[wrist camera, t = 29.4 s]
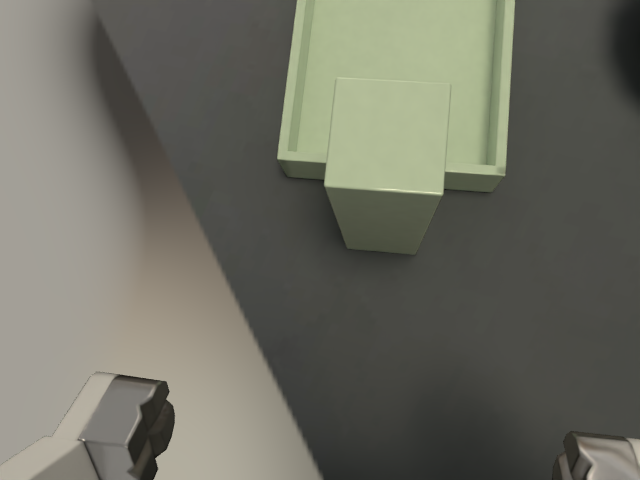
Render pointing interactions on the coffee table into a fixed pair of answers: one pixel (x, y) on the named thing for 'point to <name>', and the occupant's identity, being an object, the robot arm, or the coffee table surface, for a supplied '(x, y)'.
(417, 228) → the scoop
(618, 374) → the coffee table surface
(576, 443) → the robot arm
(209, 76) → the coffee table surface
